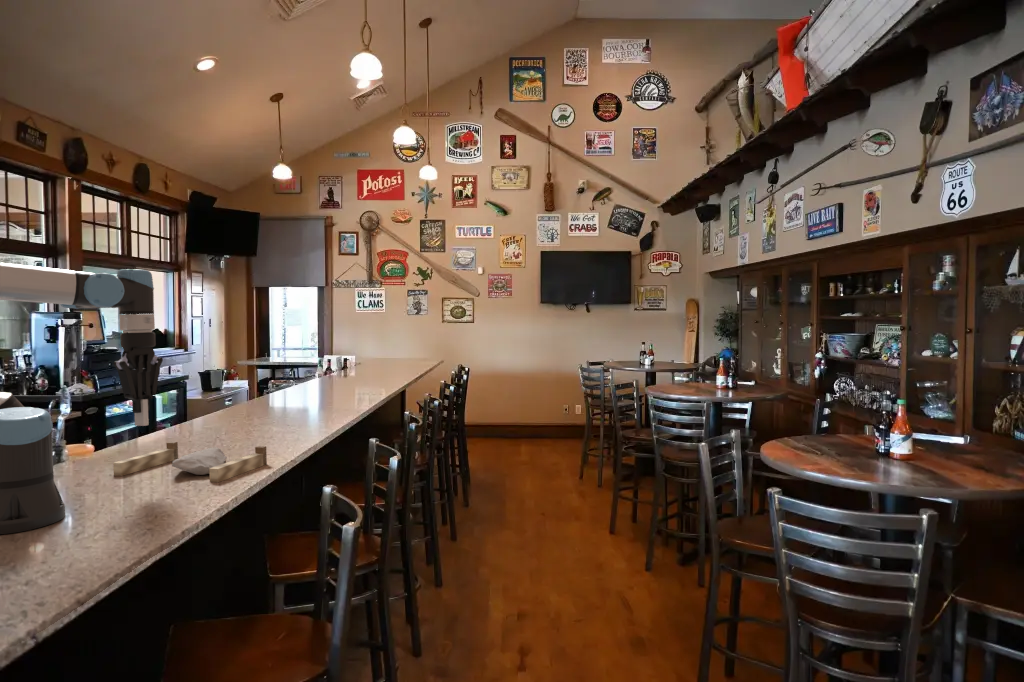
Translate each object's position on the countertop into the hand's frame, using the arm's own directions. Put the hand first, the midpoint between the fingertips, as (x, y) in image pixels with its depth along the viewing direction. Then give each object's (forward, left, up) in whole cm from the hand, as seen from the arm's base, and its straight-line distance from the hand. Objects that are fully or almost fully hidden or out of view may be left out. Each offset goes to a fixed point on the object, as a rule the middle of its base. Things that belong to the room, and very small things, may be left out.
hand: (141, 425), depth 156 cm
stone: (+20, -1, -16) cm, 25 cm away
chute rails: (+17, 0, -16) cm, 23 cm away
